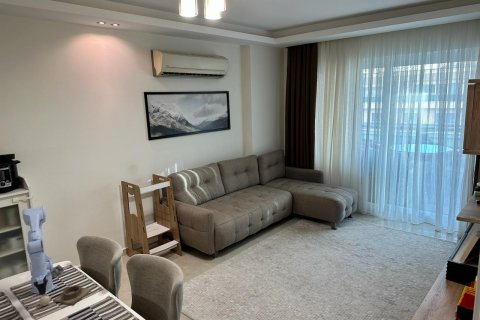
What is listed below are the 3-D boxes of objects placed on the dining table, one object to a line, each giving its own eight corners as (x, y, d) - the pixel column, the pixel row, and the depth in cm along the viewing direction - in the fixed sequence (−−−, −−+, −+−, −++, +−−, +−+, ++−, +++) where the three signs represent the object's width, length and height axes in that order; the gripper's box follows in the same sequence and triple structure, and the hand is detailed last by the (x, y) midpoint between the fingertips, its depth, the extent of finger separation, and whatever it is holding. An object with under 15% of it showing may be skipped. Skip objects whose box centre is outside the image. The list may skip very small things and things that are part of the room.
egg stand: (53, 301, 158) (52, 295, 157) (72, 287, 169) (71, 281, 168) (73, 305, 154) (72, 299, 154) (91, 291, 166) (90, 284, 165)
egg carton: (45, 282, 175) (43, 275, 175) (40, 277, 180) (39, 271, 179) (65, 273, 183) (64, 267, 182) (60, 269, 188) (59, 263, 187)
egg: (37, 306, 154) (36, 298, 153) (45, 301, 158) (44, 292, 158) (45, 308, 153) (43, 299, 152) (53, 302, 157) (51, 294, 156)
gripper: (48, 268, 147) (52, 294, 150) (48, 255, 159) (52, 280, 162) (30, 273, 144) (35, 300, 146) (31, 259, 156) (35, 284, 159)
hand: (43, 290), depth 154 cm, fingers open, 7 cm apart
